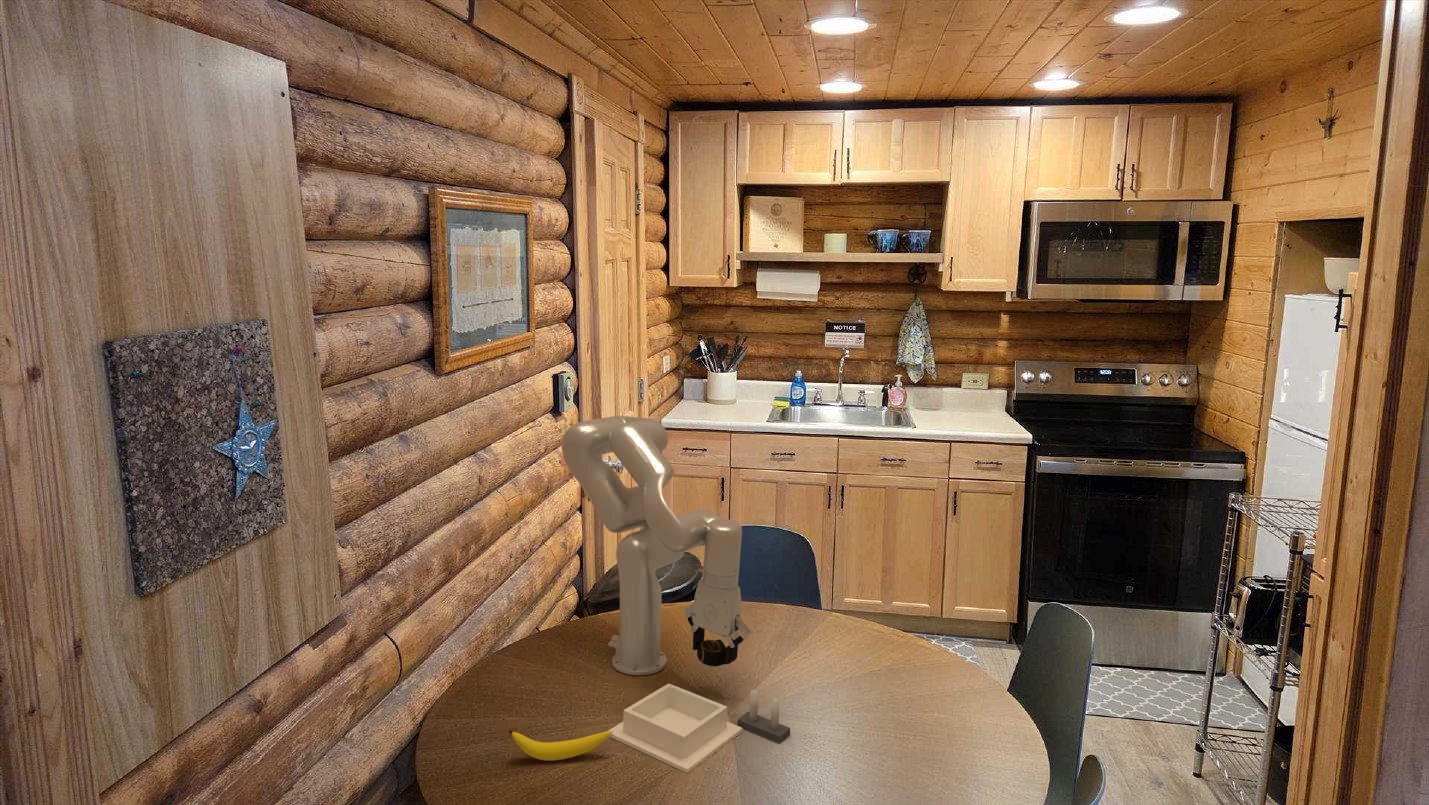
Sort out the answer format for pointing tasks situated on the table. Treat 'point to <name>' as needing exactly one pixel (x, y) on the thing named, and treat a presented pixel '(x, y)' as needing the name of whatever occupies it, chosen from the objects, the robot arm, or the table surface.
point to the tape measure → (712, 652)
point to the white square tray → (676, 727)
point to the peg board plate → (764, 721)
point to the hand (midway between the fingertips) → (714, 654)
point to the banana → (559, 746)
